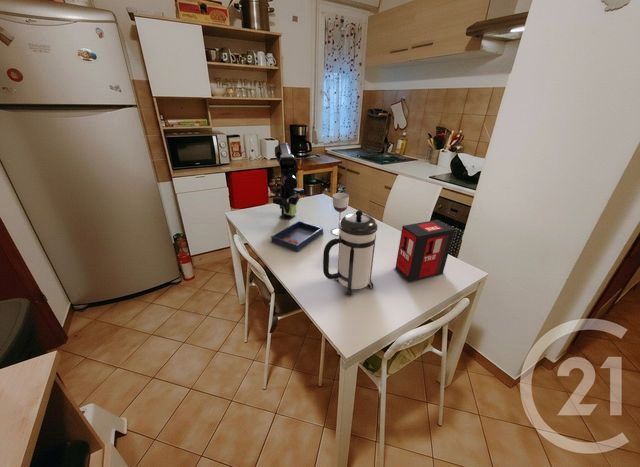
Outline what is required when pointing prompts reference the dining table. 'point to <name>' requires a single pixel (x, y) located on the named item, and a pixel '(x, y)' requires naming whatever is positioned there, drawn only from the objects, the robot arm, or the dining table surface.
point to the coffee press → (353, 251)
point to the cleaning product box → (423, 249)
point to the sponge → (291, 210)
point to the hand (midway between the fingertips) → (290, 211)
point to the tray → (297, 235)
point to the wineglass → (340, 206)
